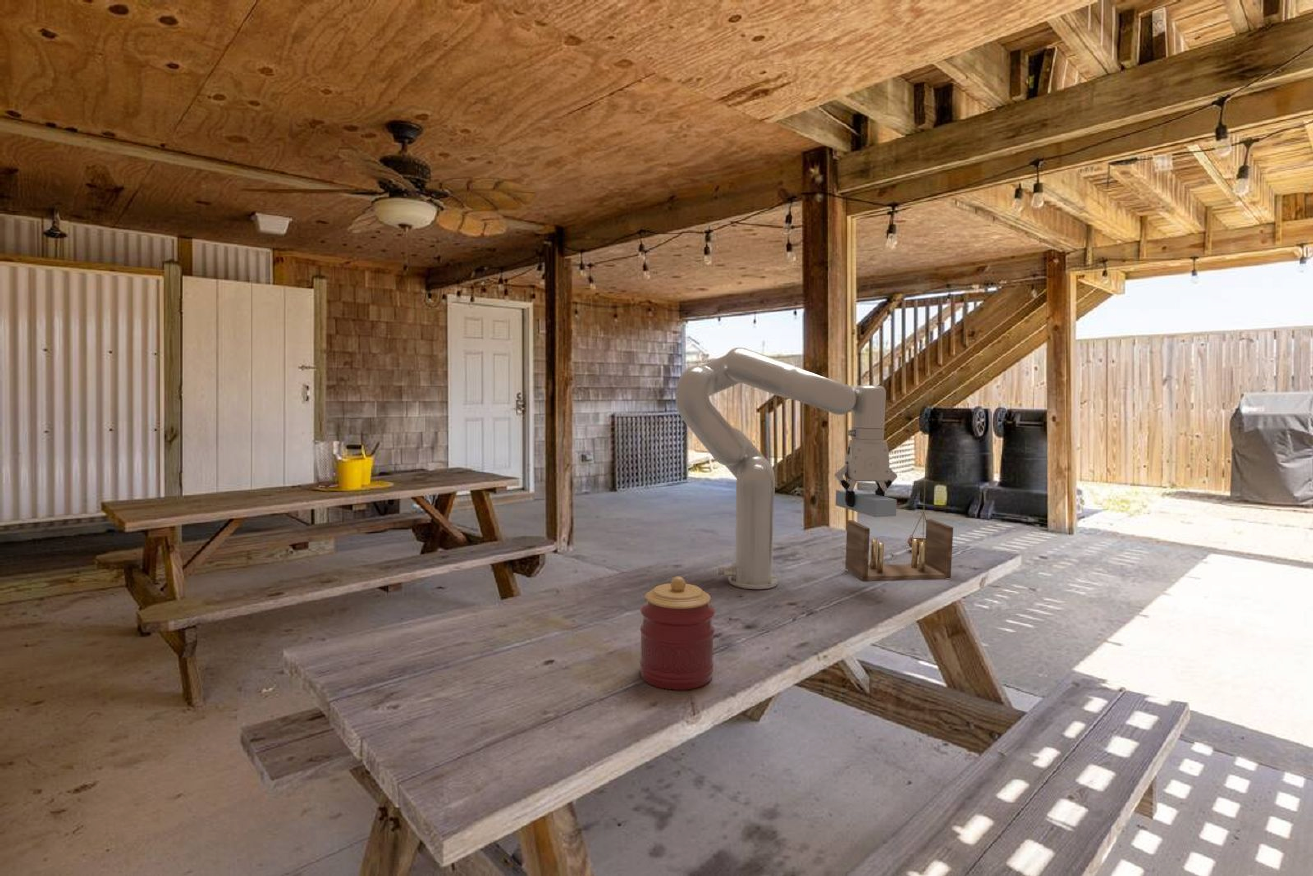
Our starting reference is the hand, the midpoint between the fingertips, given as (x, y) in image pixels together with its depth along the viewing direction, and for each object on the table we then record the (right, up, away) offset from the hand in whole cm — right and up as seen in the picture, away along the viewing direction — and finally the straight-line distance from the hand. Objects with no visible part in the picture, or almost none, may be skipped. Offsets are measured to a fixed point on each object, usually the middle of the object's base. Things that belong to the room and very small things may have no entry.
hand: (864, 505), depth 172 cm
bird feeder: (+31, -19, +42) cm, 55 cm away
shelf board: (0, -1, 0) cm, 1 cm away
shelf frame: (+14, -20, +17) cm, 30 cm away
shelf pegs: (+14, -19, +17) cm, 29 cm away
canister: (-48, -25, -51) cm, 75 cm away
